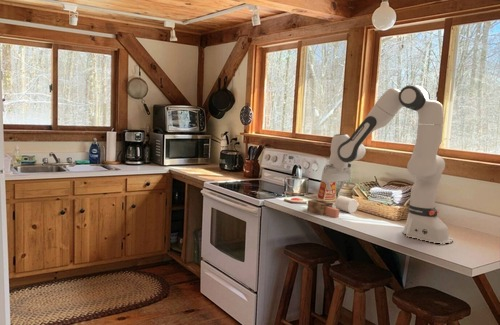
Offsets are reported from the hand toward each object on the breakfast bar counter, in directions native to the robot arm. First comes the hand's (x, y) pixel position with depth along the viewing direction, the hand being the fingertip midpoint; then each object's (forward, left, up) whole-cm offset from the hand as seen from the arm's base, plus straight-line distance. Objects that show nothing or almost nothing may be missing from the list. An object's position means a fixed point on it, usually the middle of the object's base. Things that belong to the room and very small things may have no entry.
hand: (334, 189), depth 238 cm
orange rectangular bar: (+4, 0, -15) cm, 15 cm away
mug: (+4, -19, -15) cm, 25 cm away
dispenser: (+9, 0, -15) cm, 17 cm away
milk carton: (+30, -31, -15) cm, 46 cm away
